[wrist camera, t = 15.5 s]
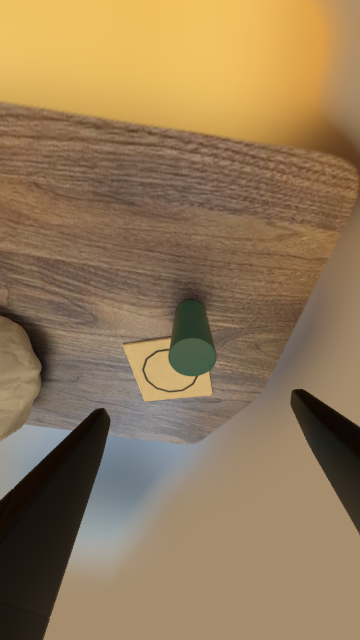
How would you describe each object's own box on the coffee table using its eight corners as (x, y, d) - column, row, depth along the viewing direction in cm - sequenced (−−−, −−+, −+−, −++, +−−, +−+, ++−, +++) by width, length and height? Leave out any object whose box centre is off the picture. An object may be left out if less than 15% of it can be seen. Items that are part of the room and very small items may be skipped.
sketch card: (212, 392, 24) (212, 395, 24) (145, 399, 25) (144, 401, 25) (203, 332, 20) (203, 334, 20) (123, 343, 21) (122, 345, 21)
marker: (206, 320, 19) (218, 374, 12) (179, 324, 20) (173, 379, 12) (202, 294, 18) (213, 334, 10) (173, 299, 18) (163, 341, 11)
